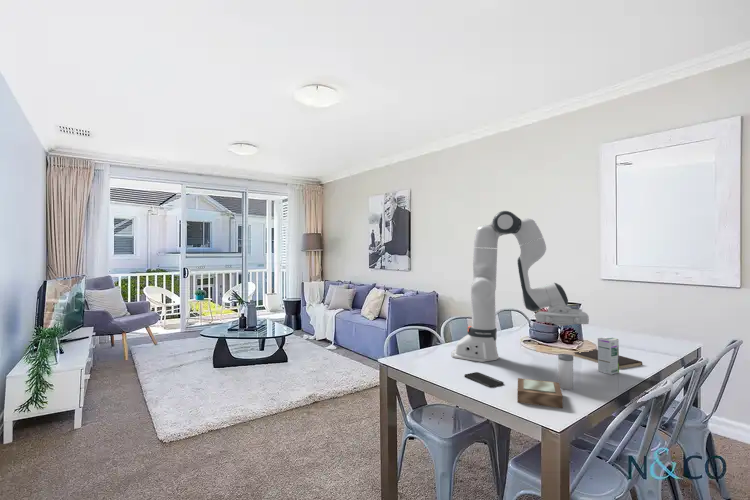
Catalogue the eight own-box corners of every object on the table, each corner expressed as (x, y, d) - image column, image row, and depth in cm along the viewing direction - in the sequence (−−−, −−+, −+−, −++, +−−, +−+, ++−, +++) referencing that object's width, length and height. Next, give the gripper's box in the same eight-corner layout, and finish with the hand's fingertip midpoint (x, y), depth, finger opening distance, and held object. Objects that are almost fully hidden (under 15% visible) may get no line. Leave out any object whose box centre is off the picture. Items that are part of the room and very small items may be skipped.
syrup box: (611, 375, 164) (611, 340, 164) (597, 371, 169) (597, 337, 169) (619, 373, 167) (619, 338, 167) (605, 369, 172) (605, 336, 172)
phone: (477, 371, 165) (504, 382, 152) (477, 374, 165) (504, 385, 152) (462, 374, 162) (489, 386, 148) (462, 377, 162) (489, 388, 148)
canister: (558, 388, 148) (558, 356, 148) (557, 384, 153) (557, 353, 153) (574, 390, 146) (574, 358, 146) (572, 385, 151) (572, 354, 151)
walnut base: (517, 402, 135) (517, 389, 135) (517, 388, 148) (517, 377, 148) (562, 408, 130) (562, 394, 130) (558, 393, 143) (558, 381, 143)
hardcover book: (618, 370, 172) (618, 365, 172) (573, 357, 193) (573, 352, 193) (642, 366, 178) (642, 361, 178) (596, 353, 199) (596, 349, 199)
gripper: (534, 307, 177) (535, 312, 164) (585, 309, 170) (590, 314, 157) (534, 321, 177) (535, 327, 164) (585, 323, 170) (591, 330, 157)
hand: (563, 320), depth 160 cm, fingers open, 8 cm apart
